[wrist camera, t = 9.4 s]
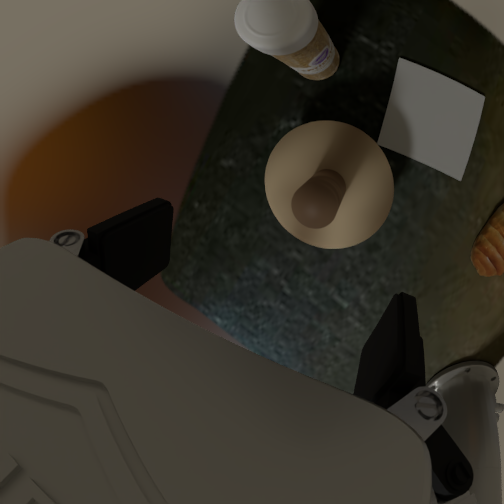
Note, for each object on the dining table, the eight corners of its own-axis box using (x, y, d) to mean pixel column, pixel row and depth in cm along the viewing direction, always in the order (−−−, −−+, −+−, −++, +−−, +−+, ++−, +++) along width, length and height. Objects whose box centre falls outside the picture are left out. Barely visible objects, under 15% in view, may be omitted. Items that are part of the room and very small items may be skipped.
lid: (410, 147, 20) (424, 156, 14) (366, 262, 25) (361, 304, 20) (283, 105, 23) (252, 101, 17) (256, 220, 28) (223, 249, 22)
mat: (483, 97, 18) (484, 96, 17) (459, 180, 22) (460, 181, 22) (399, 58, 20) (399, 57, 20) (376, 144, 24) (376, 144, 24)
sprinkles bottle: (328, 88, 24) (291, 60, 13) (286, 69, 24) (219, 36, 13) (348, 49, 21) (324, -7, 10) (304, 31, 22) (250, -25, 11)
